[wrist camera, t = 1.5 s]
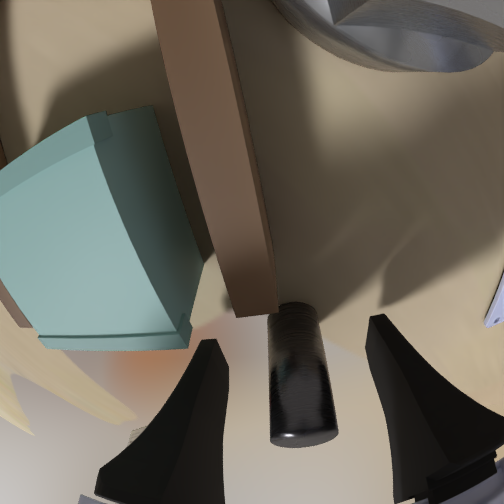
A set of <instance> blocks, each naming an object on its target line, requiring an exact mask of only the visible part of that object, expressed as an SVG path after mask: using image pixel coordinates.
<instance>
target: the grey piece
mask: <svg viewBox="0 0 504 504" xmlns="http://www.w3.org/2000/svg"><path fill="white" fill-rule="evenodd" d="M271 1H272V2H273V3H274V5H275V6H276V8H277V9H278V10H279V12H280V13H281V14H282V15H283V16H284V17H285V18H286V20H287V21H288V22H289V23H290V24H291V25H292V26H294V27H295V28H296V29H297V30H298V31H299V32H300V33H301V34H303V35H304V36H305V37H307V38H308V39H309V40H311V41H312V42H313V43H315V44H317V45H318V46H320V47H321V48H323V49H324V50H326V51H328V52H330V53H332V54H334V55H336V56H337V57H339V58H342V59H344V60H346V61H349V62H351V63H353V64H357V65H360V66H363V67H366V68H370V69H375V70H380V71H388V72H461V71H465V70H469V69H473V68H475V67H476V66H478V65H480V64H482V63H483V62H484V61H486V60H487V59H488V58H489V57H490V56H491V54H492V53H493V52H494V51H495V52H504V0H271Z"/></svg>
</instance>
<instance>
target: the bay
mask: <svg viewBox="0 0 504 504" xmlns="http://www.w3.org/2000/svg"><path fill="white" fill-rule="evenodd" d="M151 5H152V10H153V15H154V19H155V24H156V29H157V34H158V38H159V43H160V47H161V52H162V56H163V61H164V65H165V69H166V74H167V78H168V82H169V86H170V90H171V94H172V98H173V102H174V106H175V110H176V114H177V118H178V122H179V126H180V130H181V134H182V138H183V141H184V145H185V149H186V153H187V156H188V160H189V164H190V167H191V171H192V174H193V178H194V182H195V185H196V189H197V192H198V196H199V199H200V203H201V206H202V210H203V213H204V216H205V220H206V223H207V227H208V230H209V233H210V237H211V240H212V243H213V246H214V250H215V253H216V256H217V259H218V263H219V266H220V269H221V272H222V275H223V279H224V282H225V285H226V288H227V291H228V294H229V297H230V300H231V303H232V306H233V309H234V312H235V315H236V318H240V317H248V316H256V315H264V314H272V313H279V307H278V294H277V282H276V270H275V259H274V251H273V245H272V240H271V234H270V229H269V223H268V218H267V213H266V207H265V202H264V197H263V192H262V186H261V181H260V176H259V171H258V166H257V161H256V156H255V151H254V146H253V141H252V136H251V131H250V127H249V122H248V117H247V112H246V108H245V103H244V98H243V93H242V89H241V84H240V80H239V75H238V71H237V66H236V62H235V57H234V53H233V48H232V44H231V40H230V35H229V31H228V27H227V23H226V18H225V14H224V10H223V6H222V2H221V0H151ZM6 166H7V162H6V158H5V155H4V152H3V148H2V145H1V141H0V170H2V169H3V168H4V167H6ZM0 300H1V302H2V303H3V305H4V306H5V308H6V309H7V311H8V312H9V313H10V315H11V316H12V318H13V319H14V320H15V322H16V323H17V324H18V326H19V327H23V328H33V326H32V325H31V323H30V322H29V321H28V319H27V318H26V317H25V315H24V314H23V312H22V311H21V310H20V308H19V307H18V305H17V304H16V302H15V301H14V299H13V298H12V296H11V295H10V293H9V292H8V290H7V289H6V287H5V285H4V284H3V282H2V281H1V279H0Z"/></svg>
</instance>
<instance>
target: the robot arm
mask: <svg viewBox="0 0 504 504" xmlns="http://www.w3.org/2000/svg"><path fill="white" fill-rule="evenodd" d="M503 321H504V274H503V276H502V279H501V282H500V285H499V287H498V290H497V292H496V295H495V297H494V300H493V302H492V305H491V307H490V309H489V311H488V314H487V316H486V318H485V320H484V325H485V326H486V327H487V328H489V327H492V326H494V325H496V324H499V323H501V322H503ZM365 349H366V354H367V359H368V363H369V367H370V371H371V374H372V377H373V380H374V383H375V386H376V389H377V392H378V395H379V398H380V401H381V404H382V408H383V411H384V414H385V418H386V423H387V429H388V434H389V441H390V449H391V457H392V469H393V497H394V504H397V503H400V502H403V501H406V500H409V499H412V498H415V503H412V504H504V457H503V458H502V459H500V460H499V461H497V462H495V461H494V458H496V456H497V454H496V451H495V450H496V449H498V448H499V447H501V446H502V445H503V444H504V417H503V416H501V415H499V414H497V413H495V412H493V411H491V410H489V409H487V408H486V407H484V406H482V405H481V404H479V403H477V402H476V401H474V400H473V399H472V398H470V397H469V396H467V395H466V394H464V393H463V392H461V391H460V390H459V389H457V388H456V387H455V386H454V385H452V384H451V383H450V382H449V381H447V380H446V379H445V378H444V377H443V376H442V375H440V374H439V373H438V372H437V371H436V370H435V369H434V368H433V367H432V366H431V365H430V364H429V363H428V362H427V361H426V360H425V359H424V358H423V357H422V356H421V355H420V354H419V353H418V352H417V351H416V350H415V349H414V347H413V346H412V345H411V344H410V343H409V342H408V341H407V340H406V339H405V337H404V336H403V335H402V334H401V333H400V332H399V330H398V329H397V328H396V327H395V326H394V325H393V323H392V322H391V321H390V320H389V318H388V317H387V316H386V315H385V314H379V315H375V316H370V319H369V326H368V333H367V339H366V345H365ZM228 392H229V366H228V364H227V362H226V359H225V357H224V355H223V353H222V351H221V348H220V346H219V344H218V342H217V340H216V339H206V340H201V342H200V343H199V345H198V347H197V350H196V351H195V353H194V355H193V358H192V359H191V361H190V363H189V365H188V367H187V369H186V370H185V372H184V374H183V376H182V377H181V379H180V381H179V383H178V384H177V386H176V388H175V389H174V391H173V392H172V394H171V395H170V397H169V398H168V400H167V401H166V403H165V404H164V406H163V407H162V409H161V410H160V411H159V413H158V414H157V415H156V416H155V418H154V419H153V420H152V421H151V423H150V424H149V425H148V426H147V427H146V428H145V429H144V431H143V432H142V433H141V434H140V435H139V436H138V437H137V438H136V439H135V440H134V441H133V442H132V443H131V444H130V445H129V446H128V447H126V448H125V449H124V450H123V451H122V452H121V453H120V454H119V455H118V456H116V457H115V458H114V459H112V460H111V461H110V462H108V463H107V464H106V465H104V466H103V467H102V468H100V470H99V473H98V477H97V481H96V486H95V491H94V494H95V495H96V496H99V497H102V498H104V499H107V500H110V501H113V502H116V503H119V504H225V496H224V483H223V482H224V481H223V433H224V424H225V417H226V409H227V401H228ZM78 504H106V503H102V502H100V501H97V500H95V499H92V498H89V497H87V496H84V495H80V498H79V503H78Z"/></svg>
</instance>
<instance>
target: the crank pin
mask: <svg viewBox="0 0 504 504" xmlns="http://www.w3.org/2000/svg"><path fill="white" fill-rule="evenodd" d="M278 307H279V313H272V314H269V316H268V321H267V325H268V358H269V400H270V401H269V402H270V442H271V443H272V444H274V445H276V446H280V447H287V448H301V447H309V446H315V445H319V444H322V443H325V442H328V441H330V440H332V439H334V438H335V437H336V436H337V435H338V425H337V419H336V413H335V406H334V400H333V395H332V389H331V383H330V378H329V372H328V367H327V361H326V356H325V351H324V346H323V341H322V336H321V331H320V326H319V321H318V317H317V313H316V311H315V309H314V308H313V307H311V306H310V305H308V304H305V303H301V302H289V303H285V304H282V305H280V306H278Z"/></svg>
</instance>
